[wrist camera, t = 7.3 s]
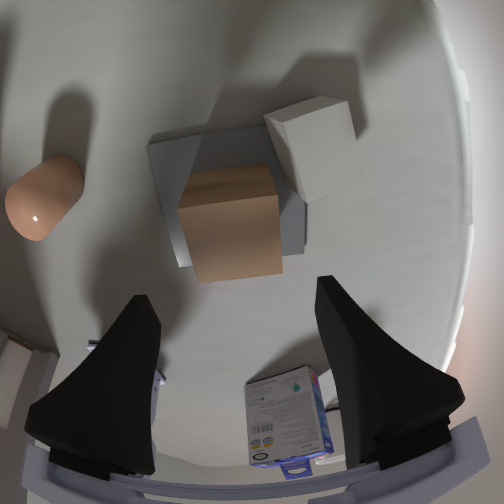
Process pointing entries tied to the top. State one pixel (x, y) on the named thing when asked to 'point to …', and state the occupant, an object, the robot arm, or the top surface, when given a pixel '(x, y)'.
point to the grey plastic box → (315, 146)
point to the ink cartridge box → (287, 422)
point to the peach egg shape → (44, 196)
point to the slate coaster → (218, 157)
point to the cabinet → (19, 406)
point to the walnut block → (232, 223)
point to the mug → (334, 437)
